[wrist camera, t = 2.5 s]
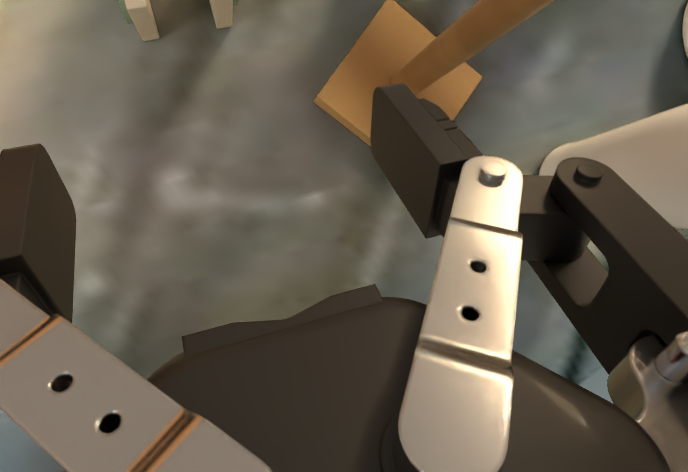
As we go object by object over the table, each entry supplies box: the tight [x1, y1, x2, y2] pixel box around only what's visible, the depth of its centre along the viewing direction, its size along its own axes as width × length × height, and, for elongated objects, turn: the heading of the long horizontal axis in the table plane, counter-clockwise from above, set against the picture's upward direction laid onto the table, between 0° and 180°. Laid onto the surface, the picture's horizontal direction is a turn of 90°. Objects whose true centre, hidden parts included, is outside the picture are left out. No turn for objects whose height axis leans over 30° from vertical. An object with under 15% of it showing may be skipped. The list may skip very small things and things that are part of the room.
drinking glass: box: [539, 103, 688, 229], centre depth 28 cm, size 7×7×15 cm
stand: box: [314, 0, 555, 146], centre depth 22 cm, size 8×8×21 cm
